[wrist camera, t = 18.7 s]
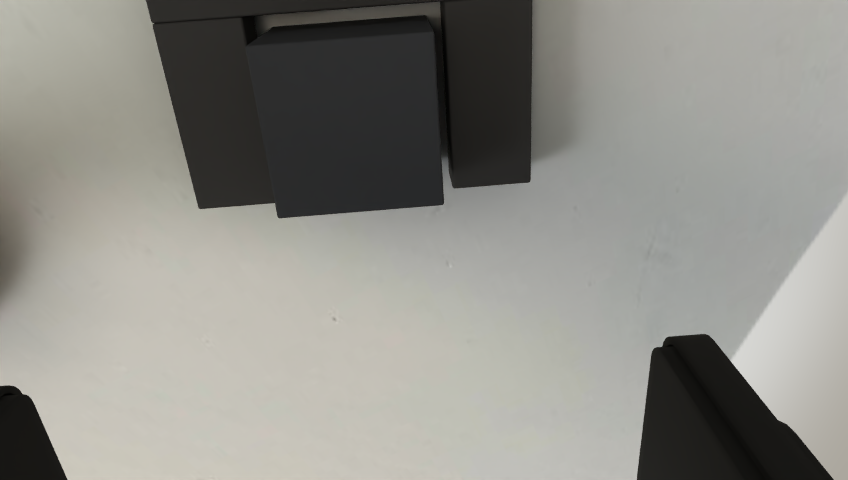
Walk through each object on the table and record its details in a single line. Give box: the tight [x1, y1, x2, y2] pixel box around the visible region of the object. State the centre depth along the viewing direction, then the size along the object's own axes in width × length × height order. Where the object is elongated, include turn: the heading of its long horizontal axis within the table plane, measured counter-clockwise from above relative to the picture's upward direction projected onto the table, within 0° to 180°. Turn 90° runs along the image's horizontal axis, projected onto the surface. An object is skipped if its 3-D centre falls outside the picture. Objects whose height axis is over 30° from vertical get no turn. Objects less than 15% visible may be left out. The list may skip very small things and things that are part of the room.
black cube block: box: [245, 15, 444, 218], centre depth 23 cm, size 6×6×5 cm
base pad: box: [146, 0, 532, 209], centre depth 23 cm, size 14×14×2 cm
